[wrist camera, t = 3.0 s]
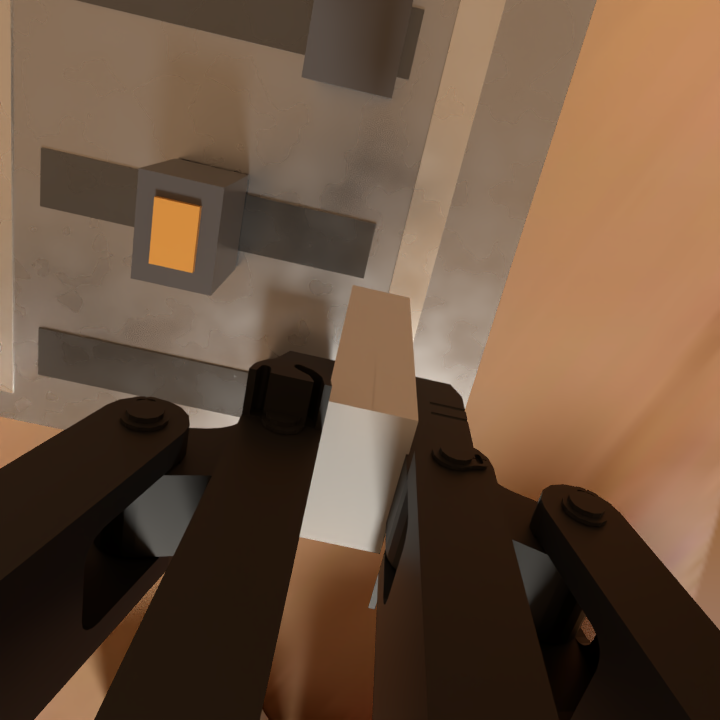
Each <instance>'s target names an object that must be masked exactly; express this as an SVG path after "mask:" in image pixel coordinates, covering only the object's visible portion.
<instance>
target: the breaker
mask: <svg viewBox="0 0 720 720" xmlns="http://www.w3.org/2000/svg"><path fill="white" fill-rule="evenodd" d="M412 4H413V0H314V3H313V9H312V15H311V21H310V27H309V33H308V40H307V46H306V52H305V58H304V64H303V70H302V76H301V77H303V78H306V79H310V80H313V81H317V82H321V83H325V84H329V85H334V86H338V87H342V88H346V89H350V90H355V91H359V92H363V93H367V94H371V95H376V96H380V97H384V98H388V99H392V95H393V91H394V86H395V82H396V77H397V73H398V68H399V64H400V59H401V54H402V50H403V45H404V41H405V36H406V32H407V27H408V23H409V18H410V13H411V9H412Z"/></svg>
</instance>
